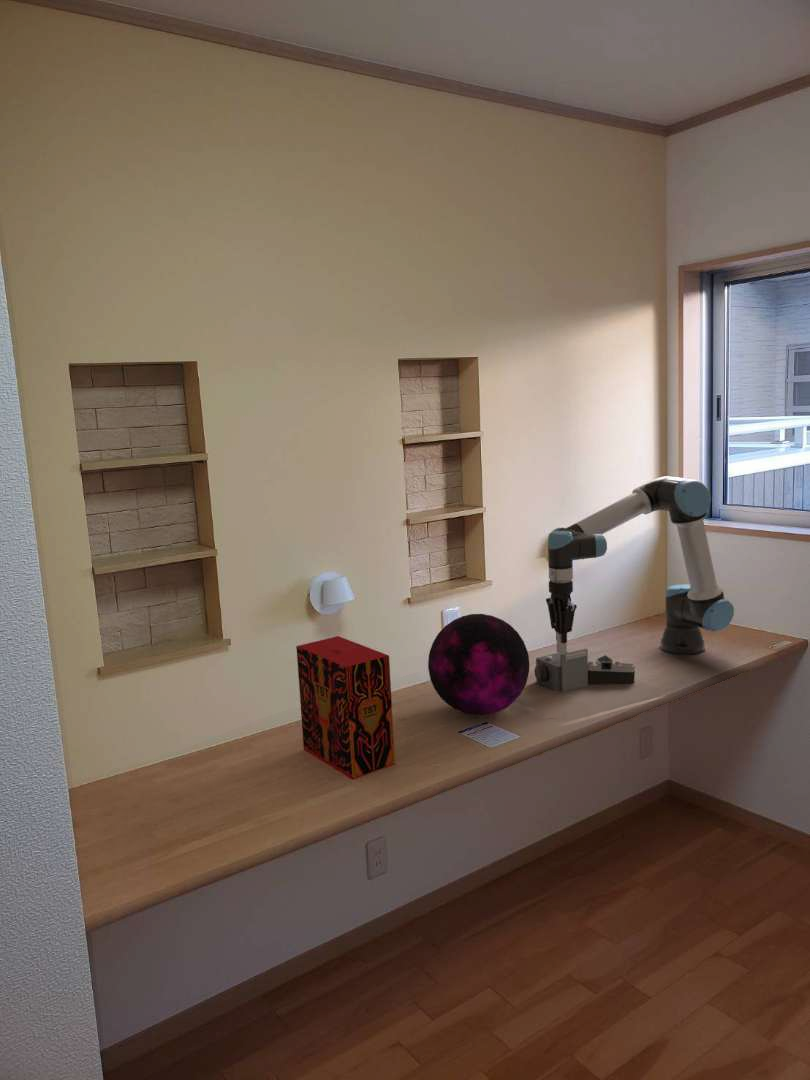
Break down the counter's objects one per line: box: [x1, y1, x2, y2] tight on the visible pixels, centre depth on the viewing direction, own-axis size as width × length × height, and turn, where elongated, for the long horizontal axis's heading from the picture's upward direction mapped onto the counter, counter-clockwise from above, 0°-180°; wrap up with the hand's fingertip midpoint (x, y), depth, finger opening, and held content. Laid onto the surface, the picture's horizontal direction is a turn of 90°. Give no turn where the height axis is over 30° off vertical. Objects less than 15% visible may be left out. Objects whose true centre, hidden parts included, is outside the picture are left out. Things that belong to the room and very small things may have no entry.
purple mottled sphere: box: [427, 613, 530, 716], centre depth 264 cm, size 30×30×30 cm
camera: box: [588, 654, 636, 685], centre depth 285 cm, size 16×9×10 cm, turn 83°
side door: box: [560, 648, 589, 693], centre depth 279 cm, size 10×2×13 cm, turn 118°
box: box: [295, 635, 396, 780], centre depth 236 cm, size 25×13×30 cm, turn 36°
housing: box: [534, 651, 569, 692], centre depth 284 cm, size 14×11×10 cm
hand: (561, 651), depth 283 cm, fingers closed
